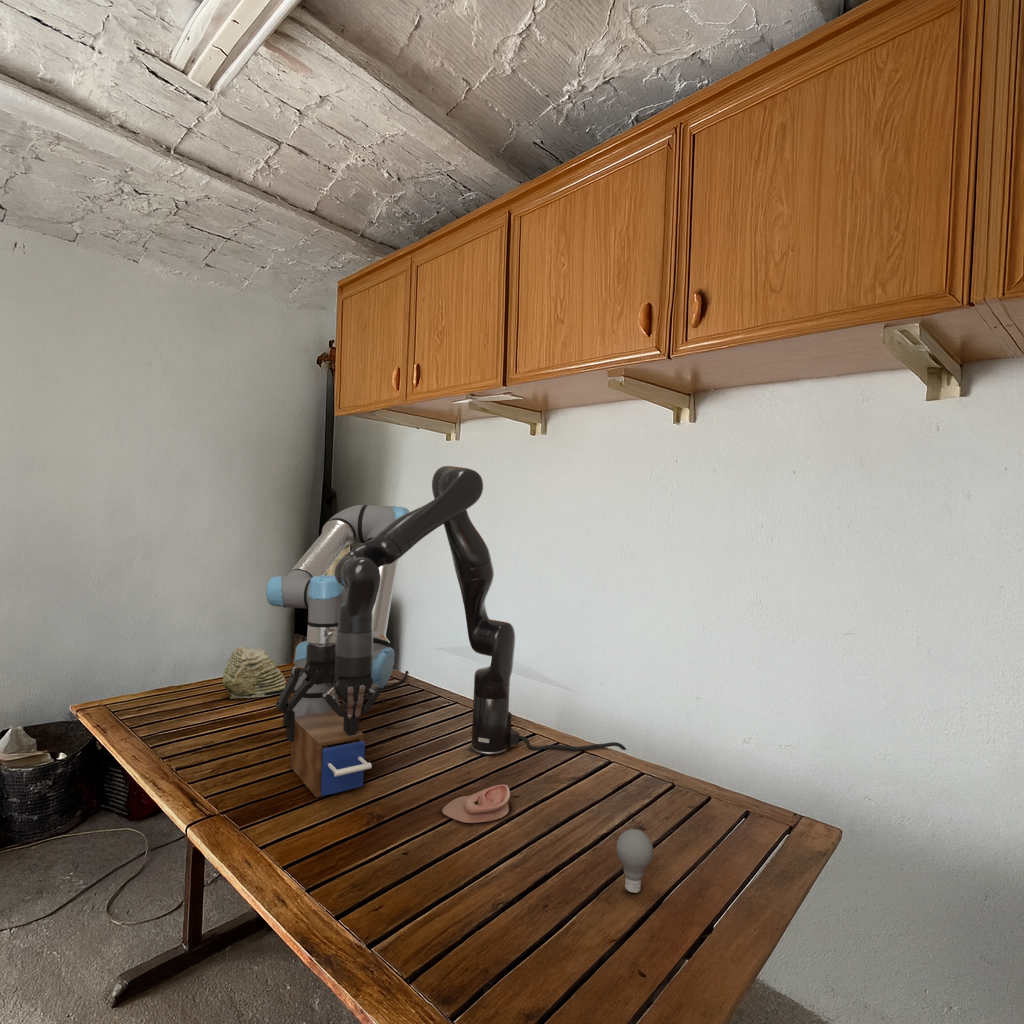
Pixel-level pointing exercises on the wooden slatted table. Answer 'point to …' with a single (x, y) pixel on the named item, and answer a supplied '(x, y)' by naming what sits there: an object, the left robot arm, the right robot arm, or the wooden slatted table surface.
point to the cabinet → (316, 745)
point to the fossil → (252, 674)
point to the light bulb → (634, 857)
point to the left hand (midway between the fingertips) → (320, 734)
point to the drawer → (343, 767)
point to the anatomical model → (480, 805)
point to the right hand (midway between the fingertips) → (351, 734)
